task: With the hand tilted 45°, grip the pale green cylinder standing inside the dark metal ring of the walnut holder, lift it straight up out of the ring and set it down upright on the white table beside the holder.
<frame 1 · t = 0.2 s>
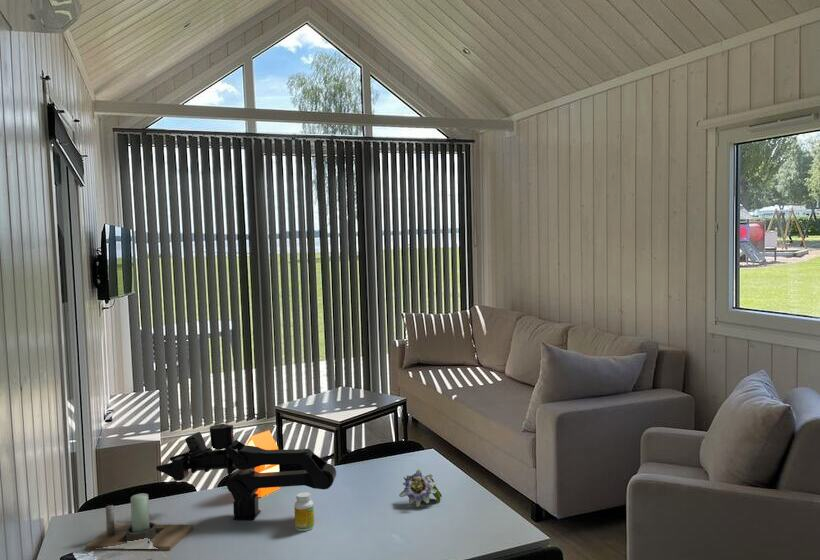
hand: (163, 463, 193), 17 cm above the table, tool horizontal, fingers open, 9 cm apart
pale green cylinder: (141, 538, 178), resting in ring holder
ring holder: (141, 538, 178), on the table
orange juice: (262, 492, 212), on the table
supplement bottle: (304, 528, 182), on the table
passion flower: (420, 502, 199), on the table
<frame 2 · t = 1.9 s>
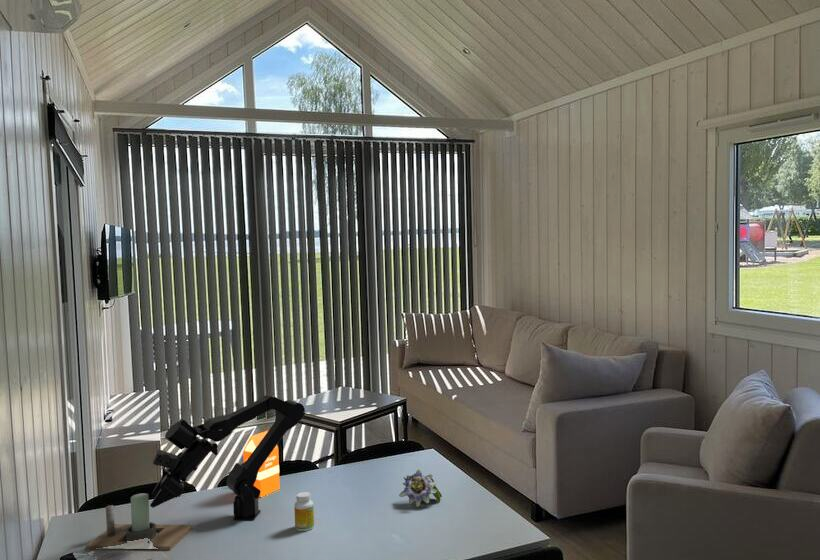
hand: (152, 500, 179), 10 cm above the table, tool tilted 45°, fingers open, 9 cm apart
nothing on the table moved.
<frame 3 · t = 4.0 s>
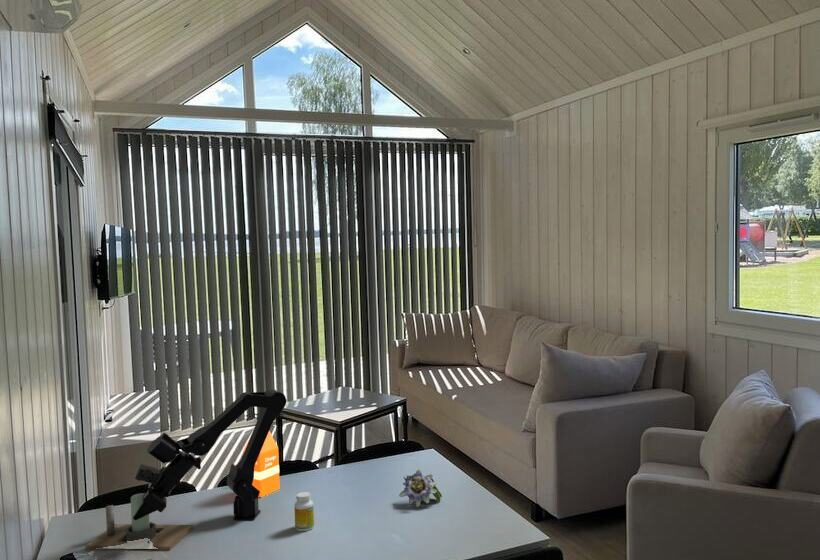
hand: (134, 516, 178), 7 cm above the table, tool tilted 45°, fingers closed on pale green cylinder, 5 cm apart
pale green cylinder: (141, 538, 178), resting in ring holder, touching gripper
everything else where it was.
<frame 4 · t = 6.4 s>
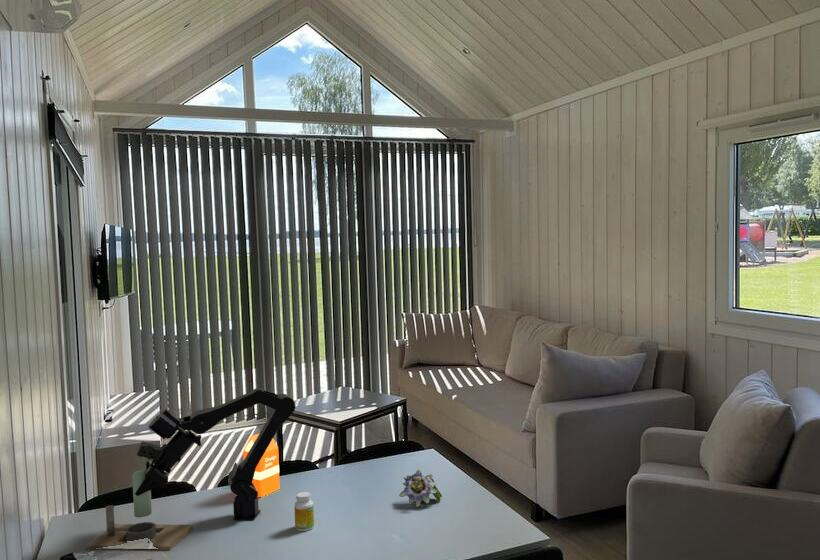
hand: (136, 492, 180), 12 cm above the table, tool tilted 45°, fingers closed on pale green cylinder, 5 cm apart
pale green cylinder: (143, 514, 181), point 6 cm above the table, touching gripper
everything else where it was.
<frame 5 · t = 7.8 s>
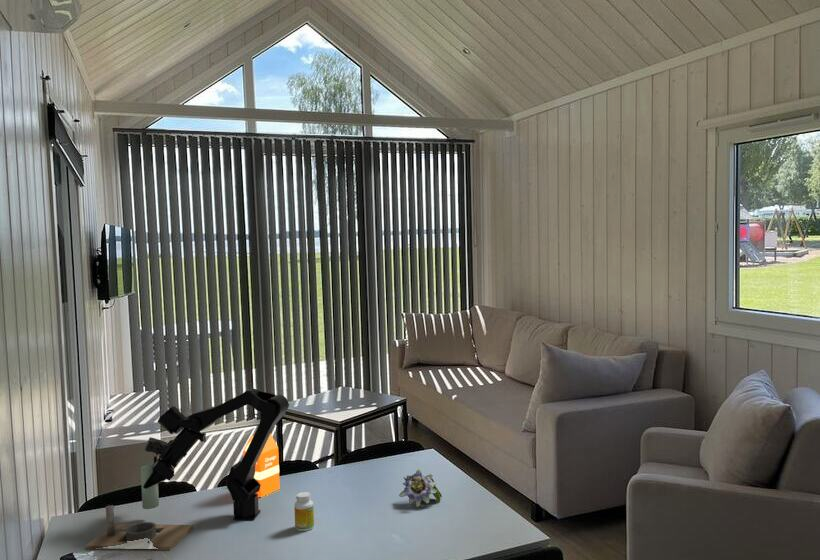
hand: (144, 485, 191), 11 cm above the table, tool tilted 45°, fingers closed on pale green cylinder, 5 cm apart
pale green cylinder: (150, 506, 191), point 4 cm above the table, touching gripper
everything else where it was.
when the fingers open (8 cm above the table, at t = 9.1 s): pale green cylinder drops 1 cm, on the table.
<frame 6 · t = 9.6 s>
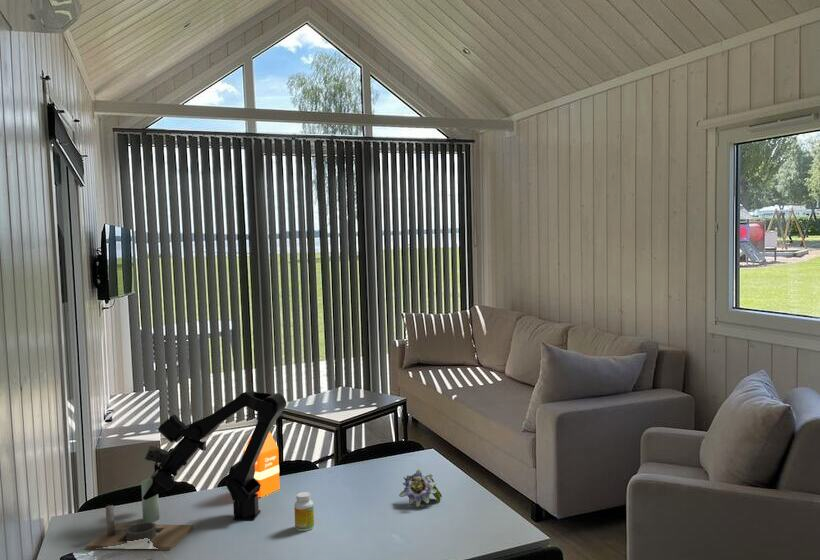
hand: (144, 493, 191), 8 cm above the table, tool tilted 45°, fingers open, 9 cm apart
pale green cylinder: (151, 519, 192), on the table
everything else where it was.
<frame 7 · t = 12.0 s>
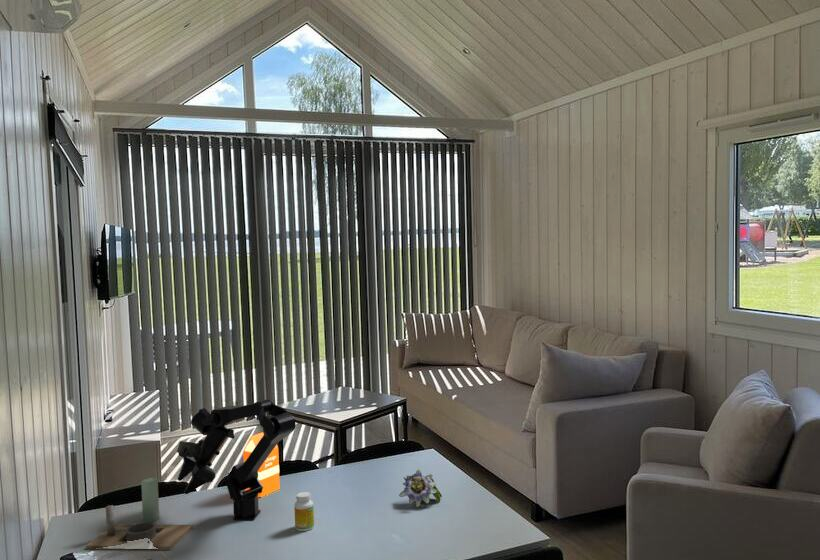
hand: (181, 486, 194), 9 cm above the table, tool tilted 35°, fingers open, 9 cm apart
nothing on the table moved.
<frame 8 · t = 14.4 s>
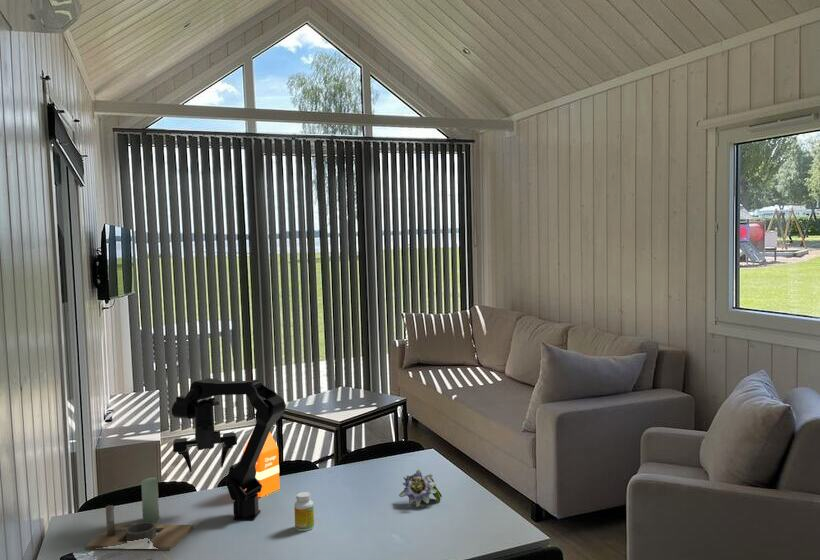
hand: (206, 469, 197), 13 cm above the table, tool pointing down, fingers open, 9 cm apart
nothing on the table moved.
at the end: pale green cylinder inside the target area (0.0 cm from its centre), on the table; pale green cylinder tilted 0°; the gripper is holding nothing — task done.
